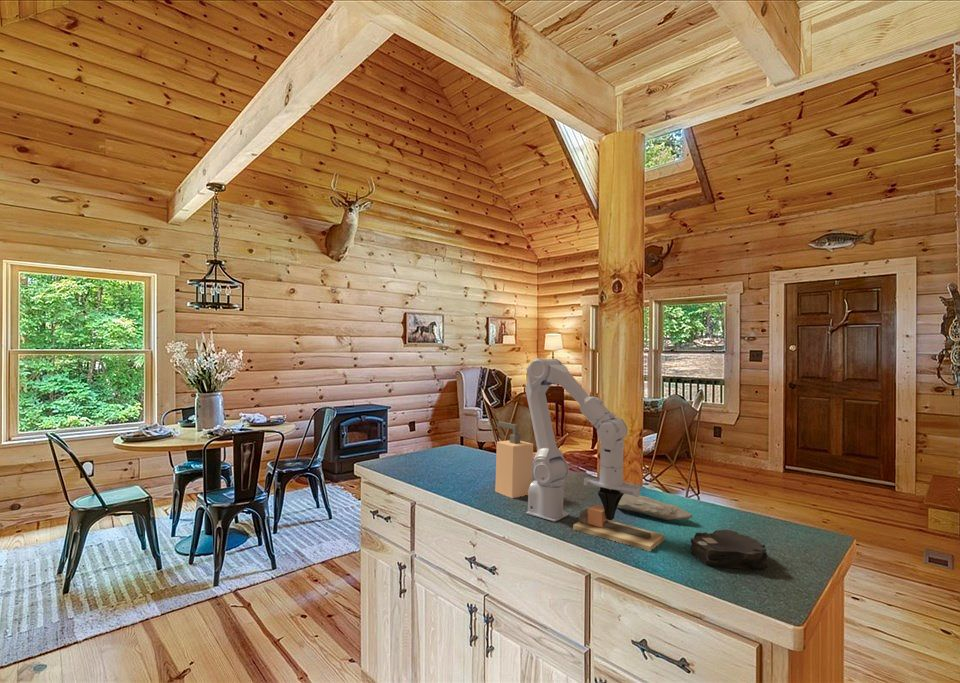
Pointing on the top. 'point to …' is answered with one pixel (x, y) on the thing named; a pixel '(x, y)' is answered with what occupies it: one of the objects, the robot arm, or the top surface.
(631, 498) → the stone tool
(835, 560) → the top surface
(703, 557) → the rock sample
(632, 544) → the rail board
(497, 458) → the soap dispenser
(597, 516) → the slider block
